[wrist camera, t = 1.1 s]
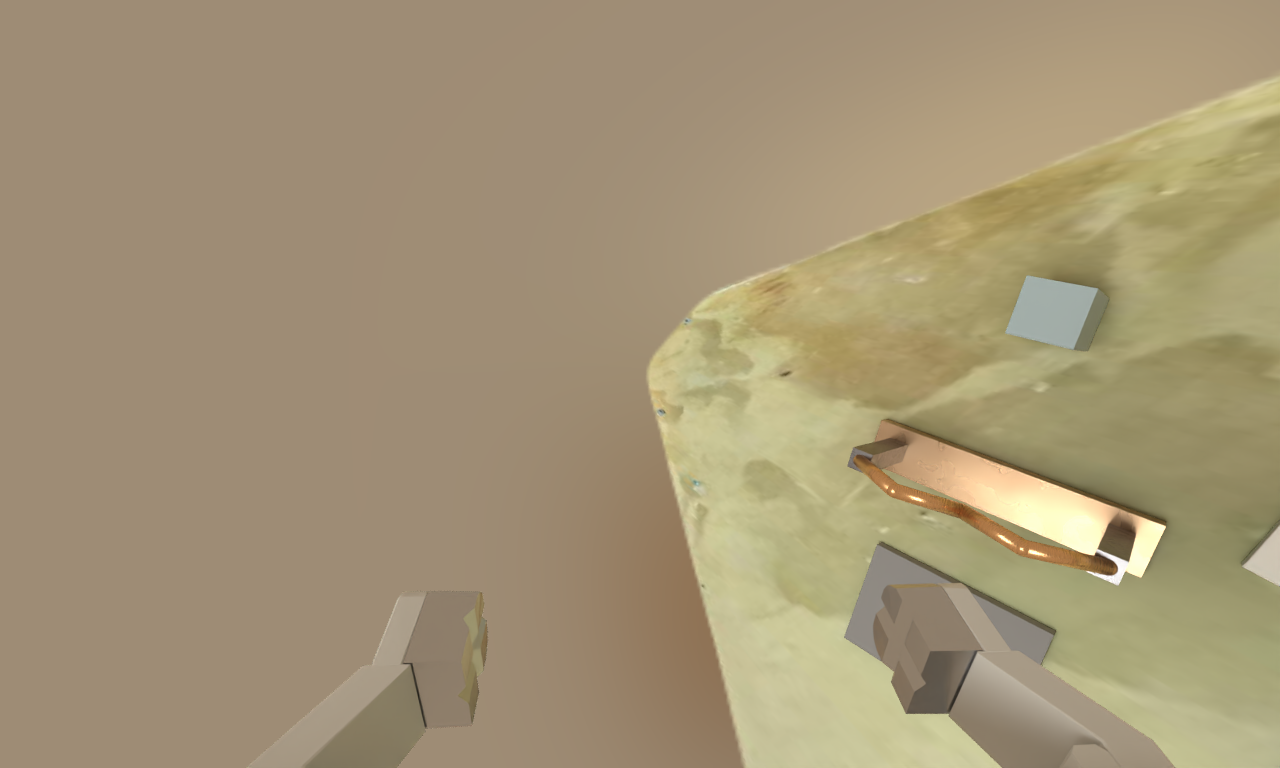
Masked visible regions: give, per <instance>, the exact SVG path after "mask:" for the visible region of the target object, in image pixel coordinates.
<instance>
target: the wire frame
mask: <svg viewBox="0 0 1280 768" xmlns="http://www.w3.org/2000/svg"><path fill="white" fill-rule="evenodd" d="M848 467H850V468H853V469H855V470H857V471H860V472H862V473H864V474H865V475H866V476H868V477H869V478H870V479H871V480H872V481H873V482H874V483H875V484H876V485H878V486H879V487H880V488H881V489H882V490H883V491H884V492H885V493H887V494H888V495H889V496H890V497H892V498H896V499H899V500H902V501H905V502H908V503H912V504H915V505H918V506H921V507H925V508H928V509H931V510H934V511H937V512H941V513H944V514H947V515H950V516H954V517H957V518H960V519H961V520H963V521H965V522H966V523H968V524H969V525H971V526H973V527H974V528H976V529H978V530H979V531H981V532H982V533H984V534H986V535H987V536H989V537H990V538H992V539H994V540H995V541H997V542H999V543H1000V544H1002V545H1003V546H1005V547H1007V548H1008V549H1010V550H1011V551H1013V552H1015V553H1016V554H1018V555H1020V556H1023V557H1028V558H1032V559H1037V560H1041V561H1045V562H1050V563H1054V564H1059V565H1063V566H1067V567H1072V568H1076V569H1080V570H1085V571H1087V572H1088V573H1091V574H1093V575H1095V576H1097V577H1100V578H1102V579H1104V580H1107V581H1109V582H1111V583H1113V584H1116V585H1119V583H1120V581H1121V579H1122V577H1123V574H1124V572H1125V571H1126V572H1129V573H1131V574H1133V575H1136V576H1138V577H1140V578H1141V577H1142V575H1143V573H1144V571H1145V569H1146V567H1147V565H1148V562H1149V560H1150V558H1151V556H1152V554H1153V552H1154V550H1155V548H1156V546H1157V544H1158V542H1159V540H1160V538H1161V536H1162V533H1163V531H1164V529H1165V527H1166V522H1165V521H1162V520H1159V519H1157V518H1154V517H1151V516H1149V515H1146V514H1143V513H1140V512H1138V511H1135V510H1132V509H1130V508H1127V507H1124V506H1122V505H1119V504H1116V503H1113V502H1111V501H1108V500H1105V499H1103V498H1100V497H1097V496H1094V495H1092V494H1089V493H1086V492H1084V491H1081V490H1078V489H1076V488H1073V487H1070V486H1067V485H1065V484H1062V483H1059V482H1057V481H1054V480H1051V479H1049V478H1046V477H1043V476H1040V475H1038V474H1035V473H1032V472H1030V471H1027V470H1024V469H1021V468H1019V467H1016V466H1013V465H1011V464H1008V463H1005V462H1003V461H1000V460H997V459H994V458H992V457H989V456H986V455H984V454H981V453H978V452H975V451H973V450H970V449H967V448H965V447H962V446H959V445H957V444H954V443H951V442H948V441H946V440H943V439H940V438H938V437H935V436H932V435H930V434H927V433H924V432H921V431H919V430H916V429H913V428H911V427H908V426H905V425H902V424H900V423H897V422H894V421H892V420H889V419H886V420H882V421H881V424H880V427H879V430H878V433H877V436H876V438H875V441H874V442H872V443H869V444H865V445H861V446H857V447H853V450H852V453H851V457H850V460H849V463H848ZM883 468H884V469H887V470H889V471H892V472H894V473H896V474H899V475H901V476H903V477H906V478H908V479H910V480H913V481H915V482H917V483H920V484H922V485H924V486H927V487H929V488H931V489H934V490H936V491H938V492H941V493H943V494H946V495H948V496H950V497H953V498H955V499H957V500H960V501H962V502H964V503H967V504H969V505H971V506H974V507H976V508H978V509H981V510H983V511H985V512H988V513H990V514H993V515H995V516H997V517H1000V518H1002V519H1004V520H1007V521H1009V522H1011V523H1014V524H1016V525H1018V526H1021V527H1023V528H1025V529H1028V530H1030V531H1032V532H1035V533H1037V534H1039V535H1042V536H1044V537H1047V538H1049V539H1051V540H1054V541H1056V542H1058V543H1061V544H1063V545H1065V546H1068V547H1070V548H1072V549H1075V550H1077V551H1079V552H1076V551H1072V550H1067V549H1063V548H1059V547H1054V546H1050V545H1046V544H1041V543H1037V542H1032V541H1028V540H1025V539H1023V538H1022V537H1020V536H1018V535H1016V534H1015V533H1013V532H1011V531H1010V530H1008V529H1006V528H1005V527H1003V526H1001V525H999V524H998V523H996V522H994V521H993V520H991V519H989V518H988V517H986V516H984V515H982V514H981V513H979V512H977V511H976V510H974V509H972V508H970V507H969V506H967V505H965V504H962V503H958V502H955V501H952V500H949V499H945V498H942V497H939V496H935V495H932V494H929V493H926V492H922V491H919V490H916V489H912V488H909V487H906V486H903V485H899V484H897V483H896V482H895V481H894V480H892V479H891V478H890V477H889V476H888V475H886V474H885V473H884V472H883V471H882V470H881V469H883ZM1081 552H1082V553H1081Z"/></svg>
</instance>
